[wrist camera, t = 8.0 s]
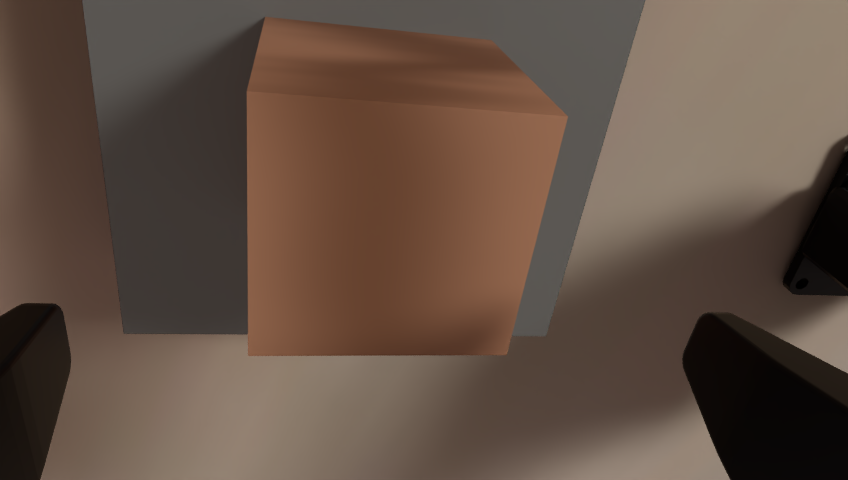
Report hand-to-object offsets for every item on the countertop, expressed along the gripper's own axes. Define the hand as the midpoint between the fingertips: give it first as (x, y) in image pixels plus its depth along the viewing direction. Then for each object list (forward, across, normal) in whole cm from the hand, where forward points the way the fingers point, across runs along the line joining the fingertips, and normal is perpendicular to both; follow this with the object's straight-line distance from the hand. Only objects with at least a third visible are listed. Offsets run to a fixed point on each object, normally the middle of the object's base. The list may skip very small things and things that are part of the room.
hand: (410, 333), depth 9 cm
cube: (+7, 0, 0) cm, 7 cm away
